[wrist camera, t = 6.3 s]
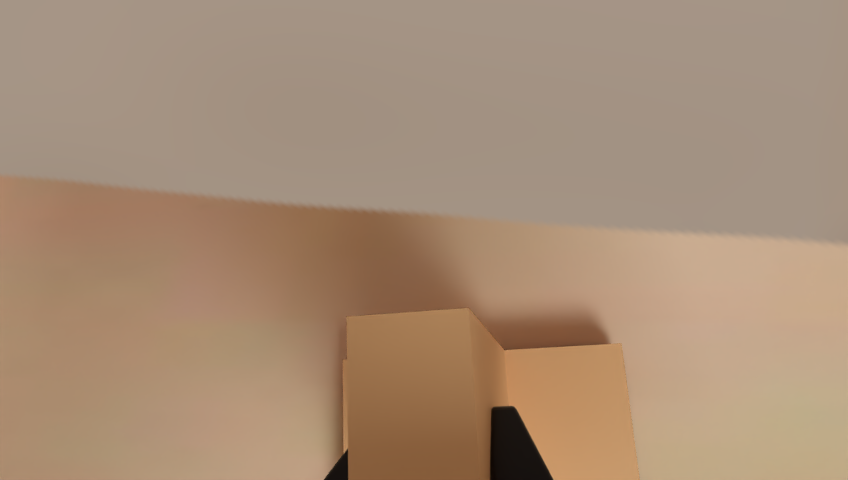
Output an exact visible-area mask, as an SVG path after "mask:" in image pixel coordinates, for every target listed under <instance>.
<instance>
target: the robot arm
mask: <svg viewBox="0 0 848 480" xmlns="http://www.w3.org/2000/svg"><path fill="white" fill-rule="evenodd" d="M490 476H491V480H554V479H553V478H552V476H551V474H550V472H549V470H548V468H547V466H546V464H545V462H544V460H543V458H542V457H541V455H540V453H539V451H538V449H537V447H536V445H535V443H534V441H533V439H532V437H531V436H530V434H529V432H528V430H527V428H526V426H525V424H524V422H523V420H522V418H521V416H520V415H519V413H518V411H517V409H516V408H515V407H514V406H495V407H493V408H492V410H491V447H490ZM324 480H348V449H347V450H346V451H345V453H344V454H343V455H342V457H341V458H340V459H339V460H338V462H337V463H336V464H335V466H334V467H333V468H332V470H331V471H330V472H329V474H328V475H327V476H326V478H325V479H324Z"/></svg>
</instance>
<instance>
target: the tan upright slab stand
mask: <svg viewBox="0 0 848 480" xmlns="http://www.w3.org/2000/svg"><path fill="white" fill-rule="evenodd" d="M346 325H347V359H344V360H343V454H344V453H345V451H346V450H347V449H348V480H491V476H490V447H491V410H492V408H493V407H495V406H514V407H515V408H516V409H517V411H518V413H519V415H520V416H521V418H522V420H523V422H524V424H525V426H526V428H527V430H528V432H529V434H530V436H531V437H532V439H533V441H534V443H535V445H536V447H537V449H538V451H539V453H540V455H541V457H542V458H543V460H544V462H545V464H546V466H547V468H548V470H549V472H550V474H551V476H552V478H553V479H554V480H640V479H639V471H638V464H637V456H636V449H635V441H634V434H633V426H632V419H631V411H630V404H629V396H628V389H627V381H626V374H625V366H624V359H623V351H622V344H621V343H618V344H601V345H584V346H567V347H549V348H532V349H515V350H504V349H503V348H502V347H501V346H500V344H499V343H498V342H497V341H496V340H495V339H494V337H493V336H492V335H491V334H490V333H489V331H488V330H487V329H486V328H485V327H484V326H483V324H482V323H481V322H480V321H479V320H478V318H477V317H476V316H475V315H474V314H473V313H472V311H471V310H470V309H469V308H458V309H444V310H430V311H416V312H402V313H388V314H374V315H360V316H346Z"/></svg>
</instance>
